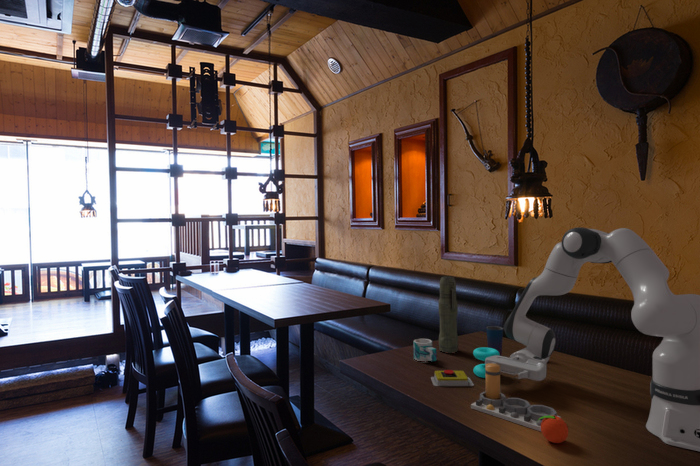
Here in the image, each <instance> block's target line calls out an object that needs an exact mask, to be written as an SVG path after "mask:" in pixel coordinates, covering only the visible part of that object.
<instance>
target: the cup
mask: <svg viewBox="0 0 700 466" xmlns="http://www.w3.org/2000/svg"><path fill="white" fill-rule="evenodd" d="M485 331H486V340H487V341H486V342H487V347H488V348H493V349H496V350H497V351H498V352H499V353H500V356H503V355H502V354H503V353H502V351H503V334H504V327H501V326H498V325H497V326H496V325H490V326H486V330H485Z"/></svg>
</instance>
